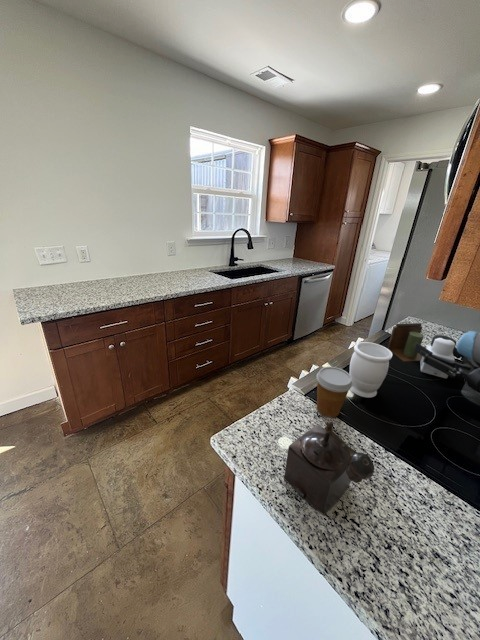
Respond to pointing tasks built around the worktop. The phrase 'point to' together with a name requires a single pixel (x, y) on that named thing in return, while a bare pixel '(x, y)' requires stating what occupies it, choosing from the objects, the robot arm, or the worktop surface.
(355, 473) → the brown coffee grinder
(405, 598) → the worktop surface
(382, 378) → the jar
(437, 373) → the container
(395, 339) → the spice rack
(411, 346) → the spice tin
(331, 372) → the disposable coffee cup
